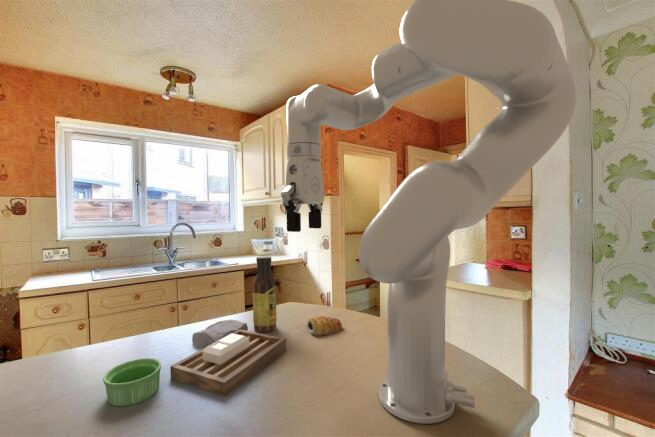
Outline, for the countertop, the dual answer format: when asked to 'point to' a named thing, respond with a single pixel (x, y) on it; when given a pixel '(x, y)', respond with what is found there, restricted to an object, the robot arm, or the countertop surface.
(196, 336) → the stone block
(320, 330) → the pastry
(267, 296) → the sauce bottle
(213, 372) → the drying rack
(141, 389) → the ramekin
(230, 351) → the soap bar
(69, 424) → the countertop surface
